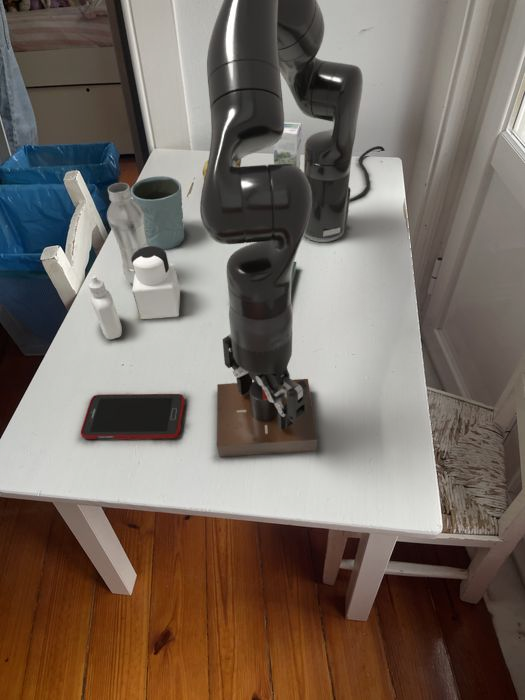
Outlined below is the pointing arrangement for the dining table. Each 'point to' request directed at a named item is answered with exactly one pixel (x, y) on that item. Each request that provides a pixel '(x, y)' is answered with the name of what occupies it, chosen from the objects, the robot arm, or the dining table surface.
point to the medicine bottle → (155, 284)
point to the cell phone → (133, 416)
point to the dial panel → (259, 426)
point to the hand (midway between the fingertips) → (264, 407)
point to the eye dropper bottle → (105, 309)
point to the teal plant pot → (161, 210)
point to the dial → (261, 403)
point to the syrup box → (289, 145)
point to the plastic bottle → (126, 225)
